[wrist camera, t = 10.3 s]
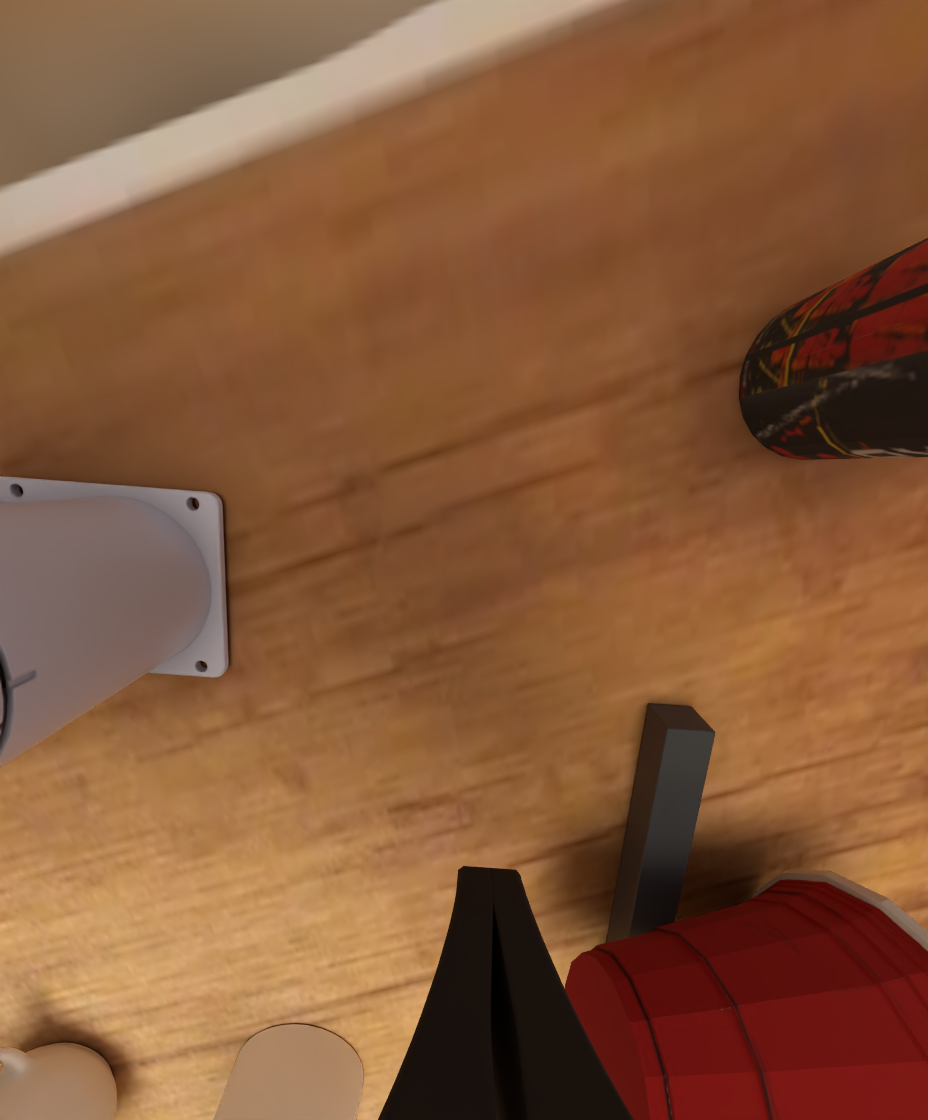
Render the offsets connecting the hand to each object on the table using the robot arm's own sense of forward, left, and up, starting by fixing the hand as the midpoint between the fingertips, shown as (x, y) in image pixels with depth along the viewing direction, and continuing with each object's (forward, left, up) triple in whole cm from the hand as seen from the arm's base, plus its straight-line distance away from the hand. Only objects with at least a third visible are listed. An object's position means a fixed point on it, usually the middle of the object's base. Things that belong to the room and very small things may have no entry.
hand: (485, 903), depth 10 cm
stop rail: (+9, -9, -10) cm, 16 cm away
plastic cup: (+4, -9, -3) cm, 11 cm away
